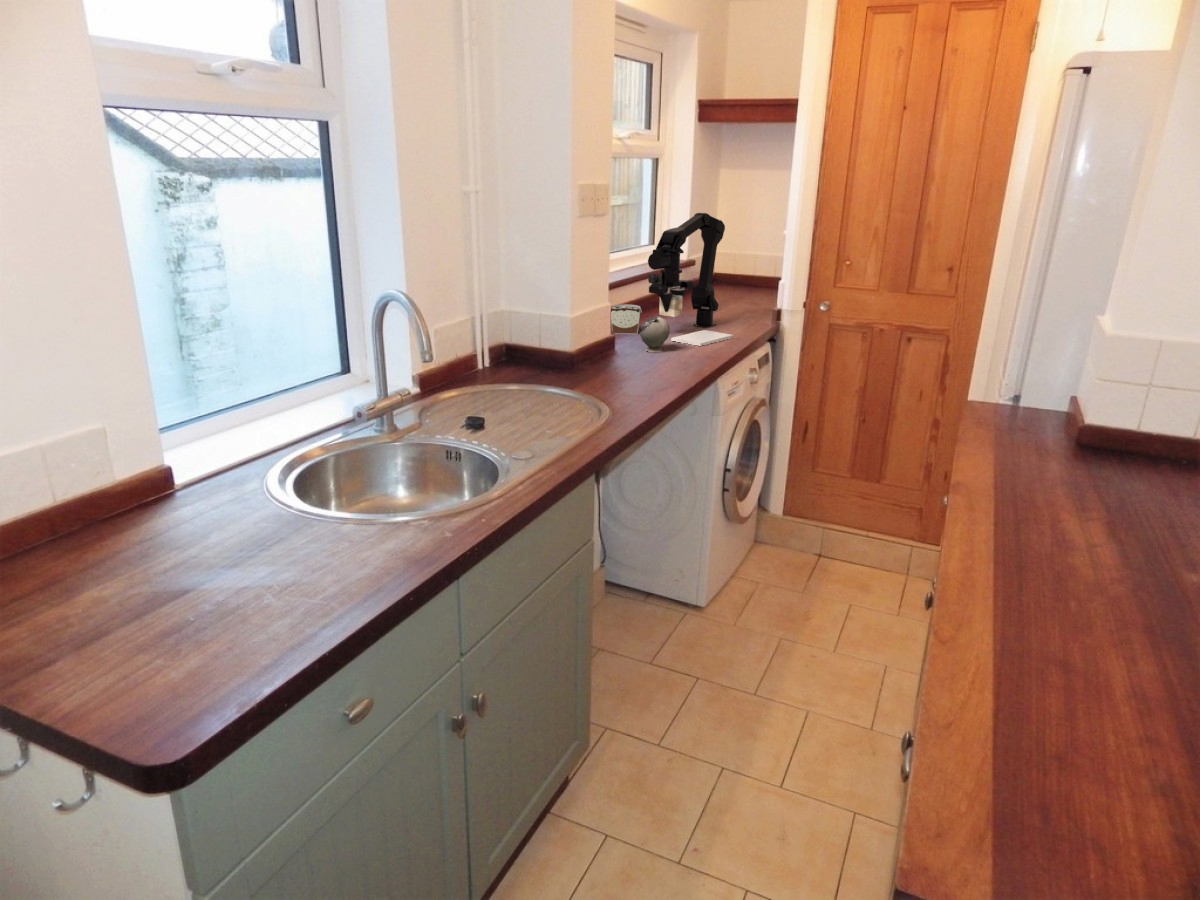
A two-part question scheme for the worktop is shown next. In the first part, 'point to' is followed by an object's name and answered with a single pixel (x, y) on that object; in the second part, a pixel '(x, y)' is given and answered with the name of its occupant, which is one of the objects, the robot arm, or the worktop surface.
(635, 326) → the food container
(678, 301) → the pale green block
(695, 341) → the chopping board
